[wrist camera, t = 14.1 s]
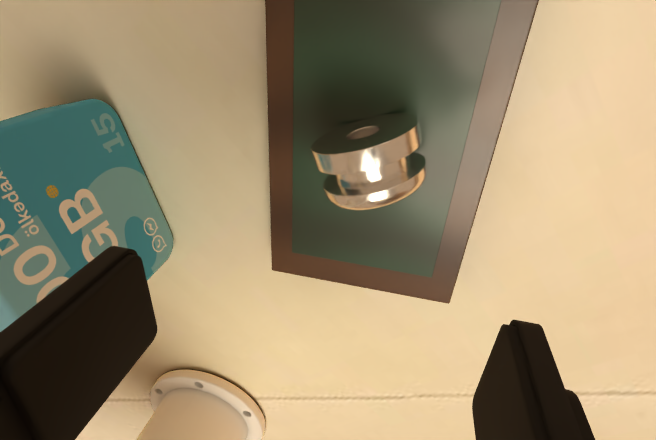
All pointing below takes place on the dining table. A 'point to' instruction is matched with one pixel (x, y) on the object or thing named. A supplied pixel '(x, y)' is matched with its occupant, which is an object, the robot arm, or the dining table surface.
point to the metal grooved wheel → (371, 161)
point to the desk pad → (379, 99)
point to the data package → (70, 201)
